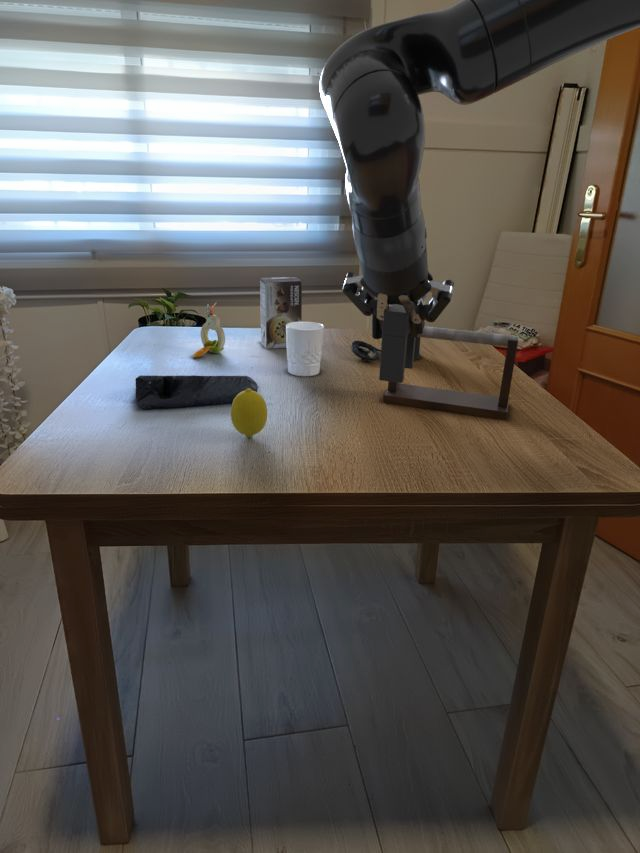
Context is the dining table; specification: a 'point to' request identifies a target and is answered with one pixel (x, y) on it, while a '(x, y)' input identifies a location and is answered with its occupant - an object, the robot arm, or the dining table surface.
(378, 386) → the dining table surface
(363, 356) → the milk frother
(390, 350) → the dark grey hook
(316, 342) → the white cup
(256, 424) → the lemon
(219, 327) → the rattle
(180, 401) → the dark slate chunk
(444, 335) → the rail stand
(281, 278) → the coffee box
